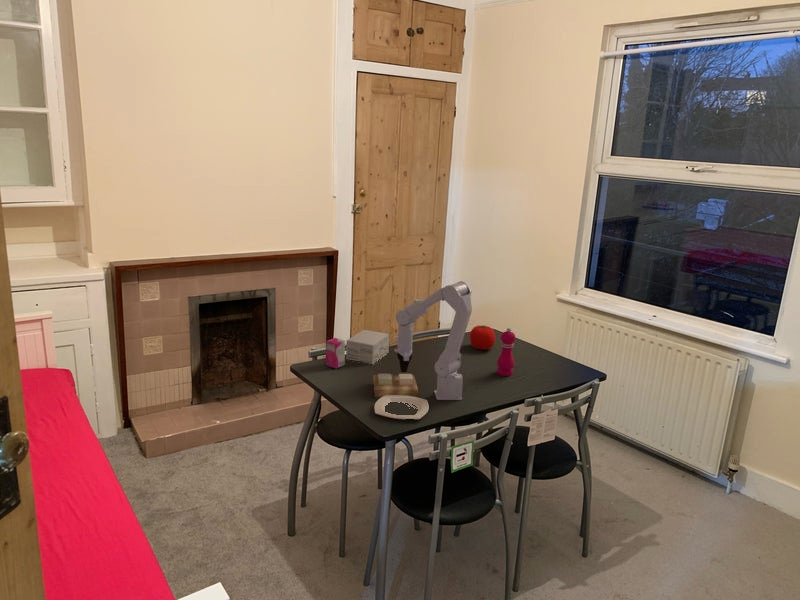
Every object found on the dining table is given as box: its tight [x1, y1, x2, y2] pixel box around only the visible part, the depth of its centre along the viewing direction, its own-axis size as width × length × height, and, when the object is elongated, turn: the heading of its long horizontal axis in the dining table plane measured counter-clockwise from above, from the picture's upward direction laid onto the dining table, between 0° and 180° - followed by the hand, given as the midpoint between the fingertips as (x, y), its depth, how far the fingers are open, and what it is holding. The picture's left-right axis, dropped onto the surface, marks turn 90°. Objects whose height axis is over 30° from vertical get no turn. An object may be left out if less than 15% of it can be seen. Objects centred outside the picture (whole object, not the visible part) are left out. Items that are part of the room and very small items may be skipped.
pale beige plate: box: [373, 395, 430, 420], centre depth 213 cm, size 19×19×2 cm
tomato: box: [469, 325, 496, 350], centre depth 279 cm, size 12×13×11 cm
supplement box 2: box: [345, 329, 390, 365], centre depth 263 cm, size 17×13×9 cm
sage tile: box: [377, 373, 392, 385], centre depth 228 cm, size 5×5×2 cm
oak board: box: [372, 374, 419, 398], centre depth 229 cm, size 16×14×4 cm
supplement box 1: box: [325, 337, 346, 370], centre depth 250 cm, size 6×6×12 cm
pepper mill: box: [496, 327, 517, 377], centre depth 249 cm, size 7×7×20 cm
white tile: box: [398, 373, 413, 385], centre depth 228 cm, size 5×5×2 cm
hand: (403, 371), depth 236 cm, fingers closed
